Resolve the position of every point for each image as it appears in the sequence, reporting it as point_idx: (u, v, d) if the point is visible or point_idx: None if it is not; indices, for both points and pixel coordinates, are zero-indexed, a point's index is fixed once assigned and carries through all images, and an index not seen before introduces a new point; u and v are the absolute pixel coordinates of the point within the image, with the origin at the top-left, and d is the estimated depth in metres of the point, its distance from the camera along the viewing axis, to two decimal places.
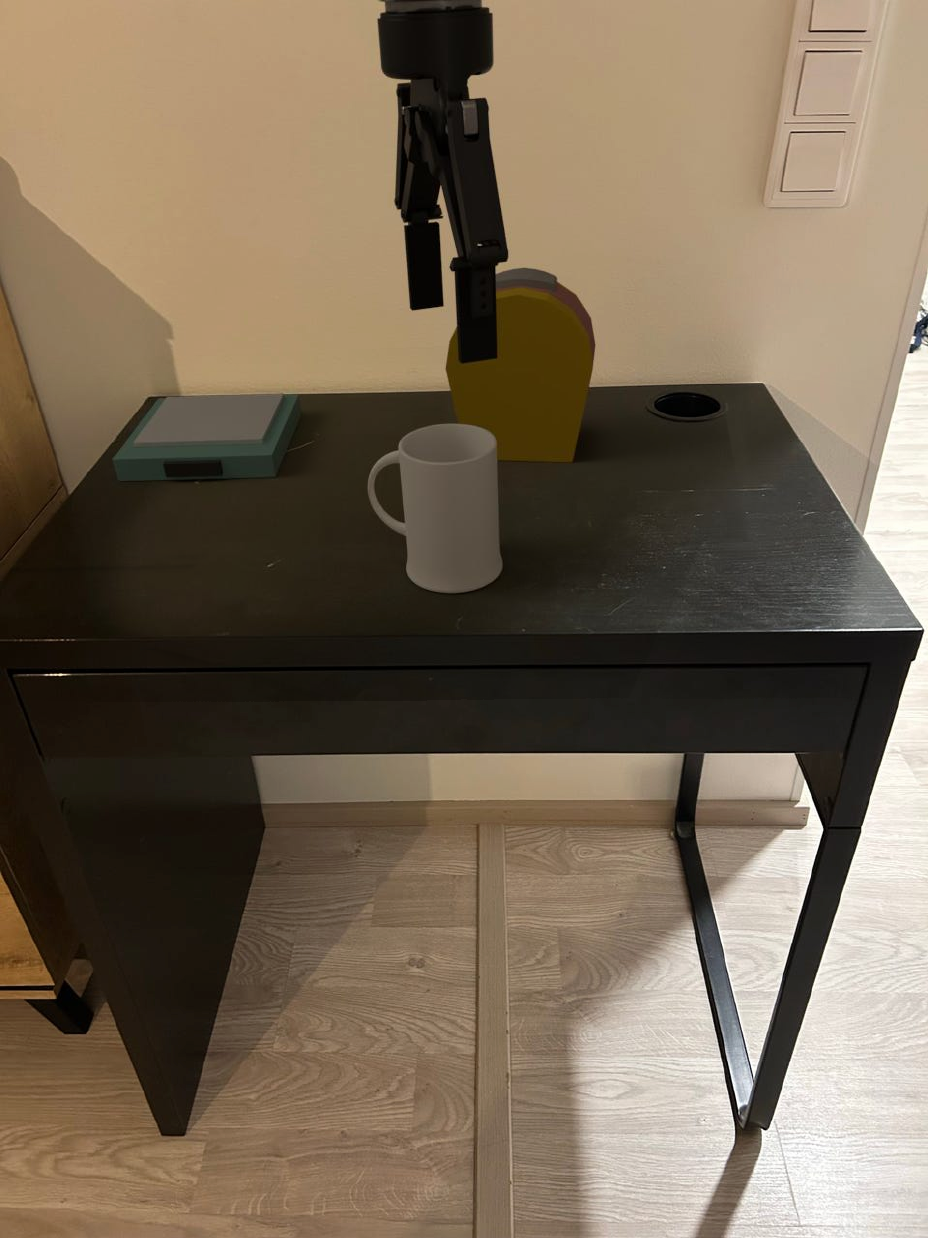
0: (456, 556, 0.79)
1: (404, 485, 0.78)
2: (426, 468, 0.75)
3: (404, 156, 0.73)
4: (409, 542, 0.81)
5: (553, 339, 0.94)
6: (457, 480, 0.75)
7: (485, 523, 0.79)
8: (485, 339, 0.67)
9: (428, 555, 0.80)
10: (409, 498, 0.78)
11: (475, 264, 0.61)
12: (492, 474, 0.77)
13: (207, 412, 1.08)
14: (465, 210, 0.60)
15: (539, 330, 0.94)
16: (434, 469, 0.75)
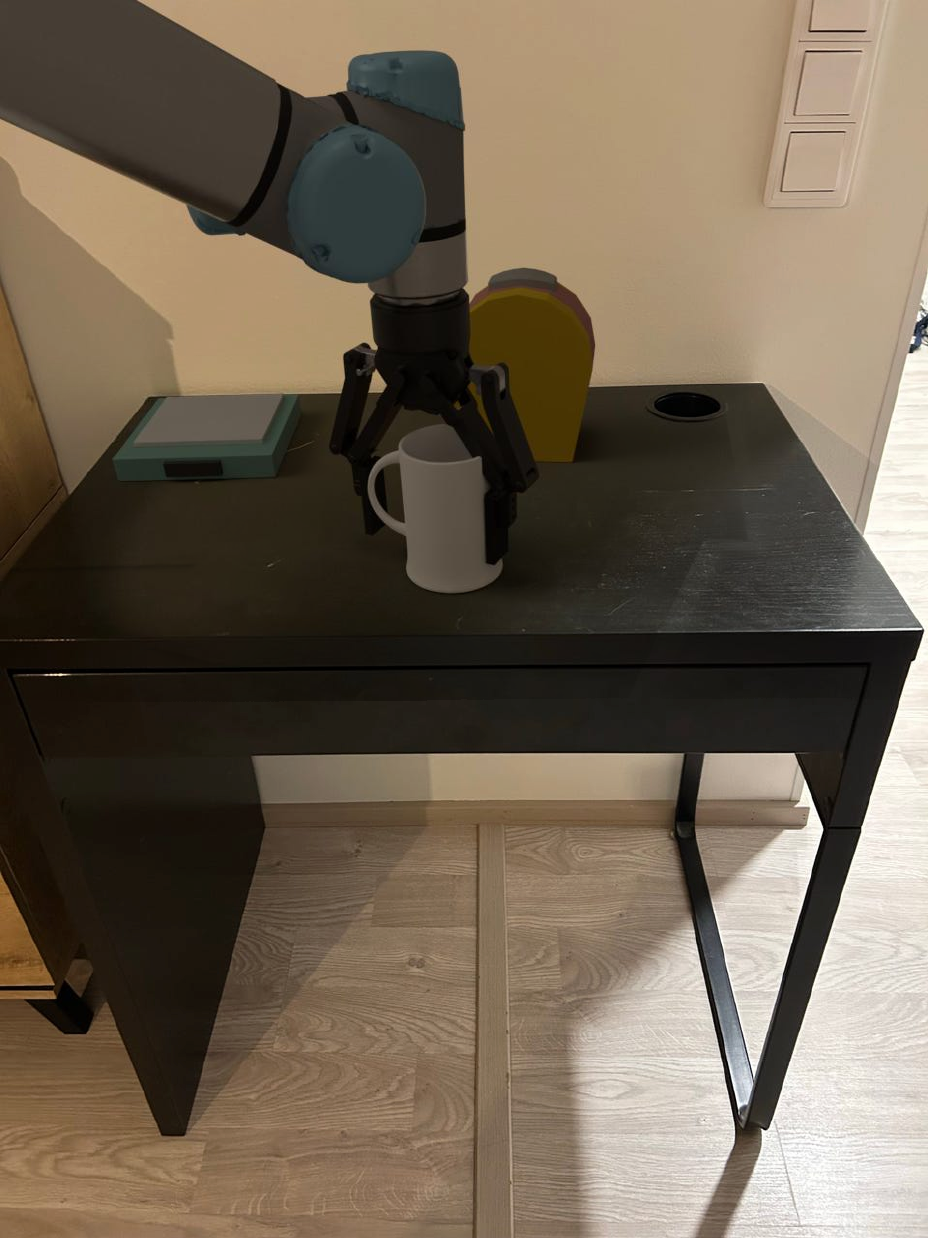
0: (456, 556, 0.79)
1: (404, 485, 0.78)
2: (426, 468, 0.75)
3: (352, 409, 0.79)
4: (409, 542, 0.81)
5: (553, 339, 0.94)
6: (457, 480, 0.75)
7: None
8: (503, 540, 0.81)
9: (428, 555, 0.80)
10: (409, 498, 0.78)
11: None
12: None
13: (207, 412, 1.08)
14: (514, 453, 0.74)
15: (539, 330, 0.94)
16: (434, 469, 0.75)
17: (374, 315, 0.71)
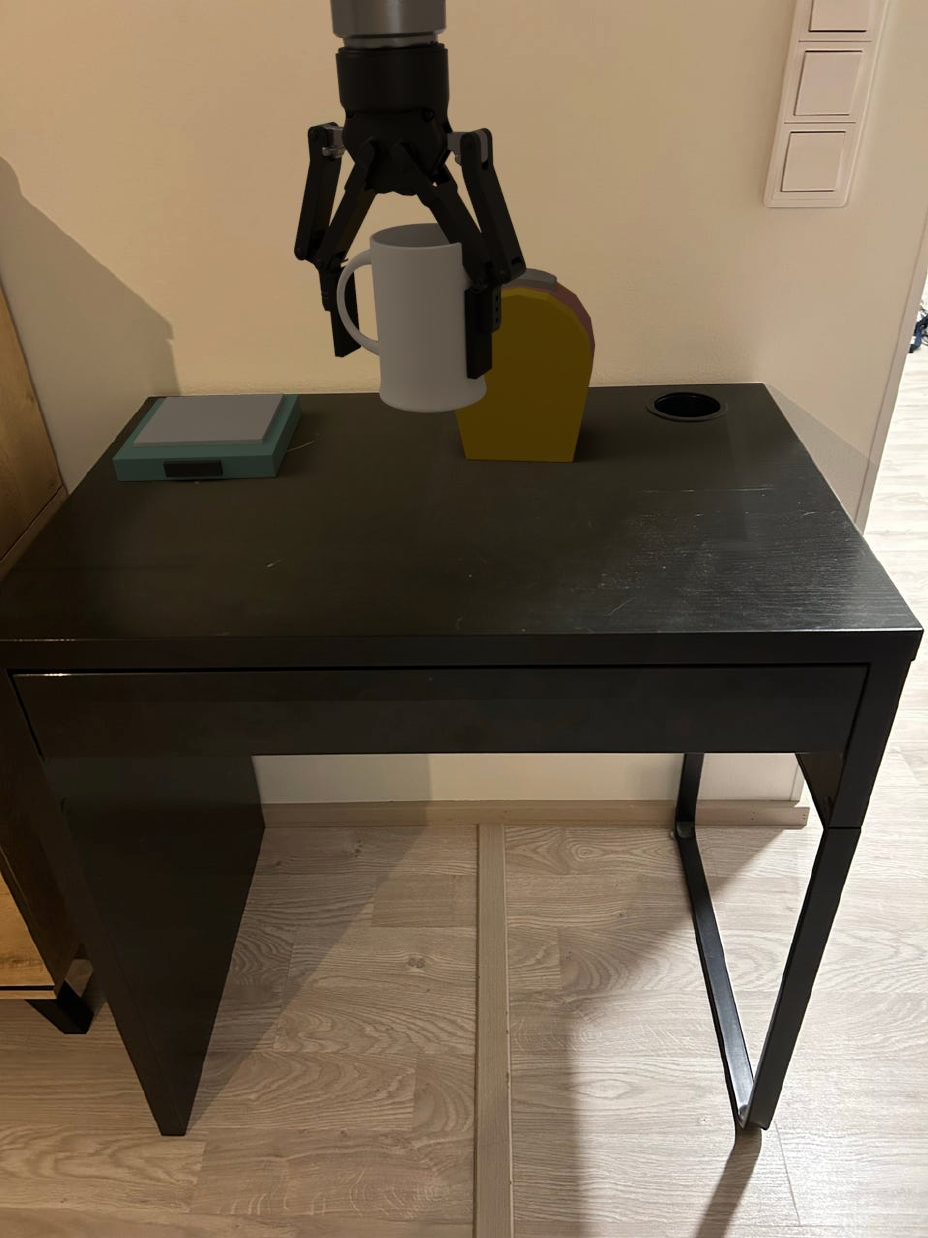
0: (433, 366, 0.71)
1: (375, 283, 0.70)
2: (399, 254, 0.67)
3: (318, 200, 0.71)
4: (382, 355, 0.73)
5: (553, 339, 0.94)
6: (434, 269, 0.67)
7: None
8: (486, 353, 0.72)
9: (402, 366, 0.71)
10: (381, 297, 0.70)
11: (510, 281, 0.67)
12: None
13: (207, 412, 1.08)
14: (498, 233, 0.65)
15: (539, 330, 0.94)
16: (408, 255, 0.66)
17: (339, 66, 0.63)
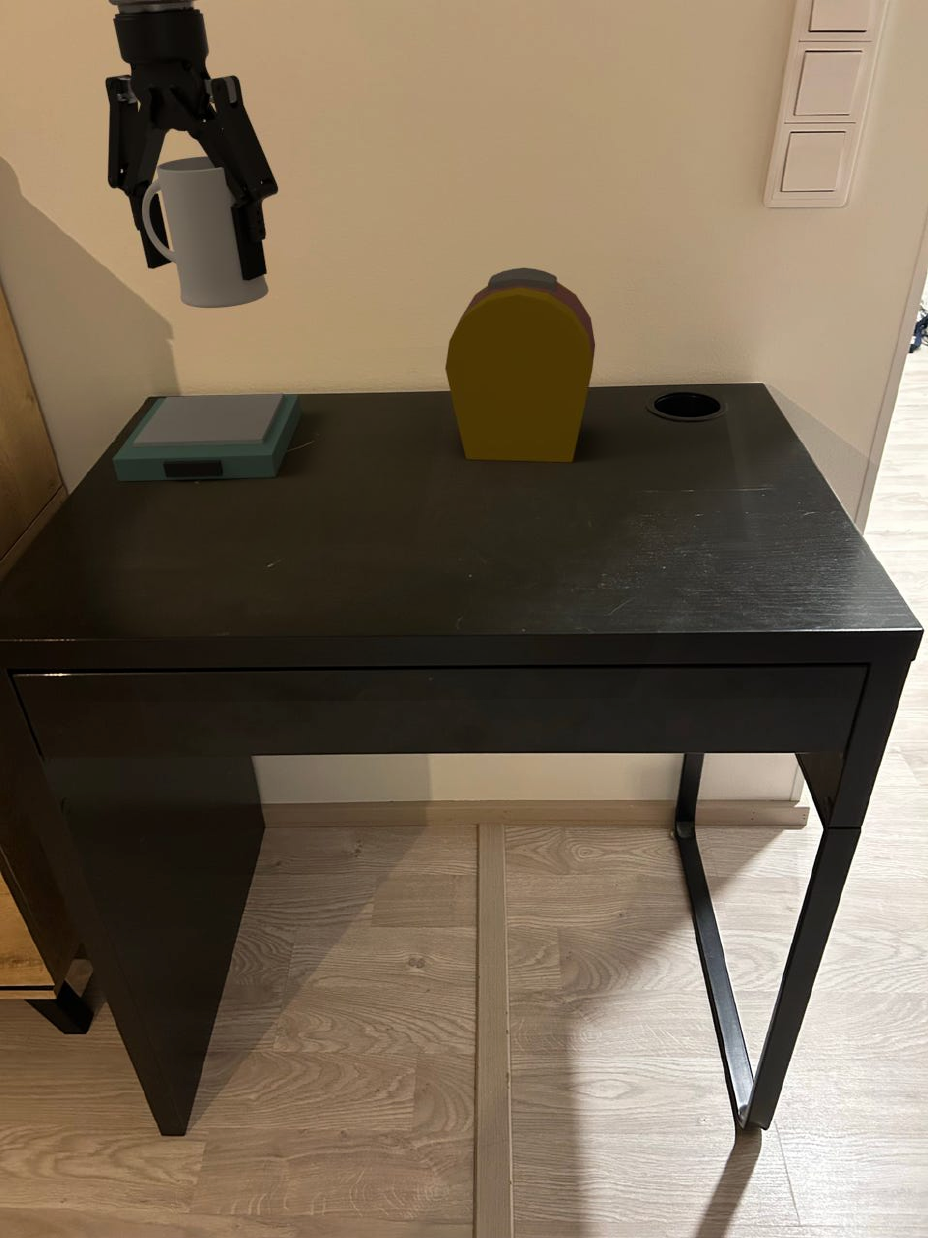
0: (213, 269, 0.89)
1: None
2: (174, 176, 0.85)
3: (121, 138, 0.89)
4: (176, 262, 0.91)
5: (553, 339, 0.94)
6: (202, 188, 0.85)
7: None
8: (259, 259, 0.91)
9: (189, 270, 0.90)
10: (168, 213, 0.88)
11: (261, 197, 0.85)
12: None
13: (207, 412, 1.08)
14: (247, 158, 0.83)
15: (539, 330, 0.94)
16: (180, 177, 0.85)
17: (115, 27, 0.81)
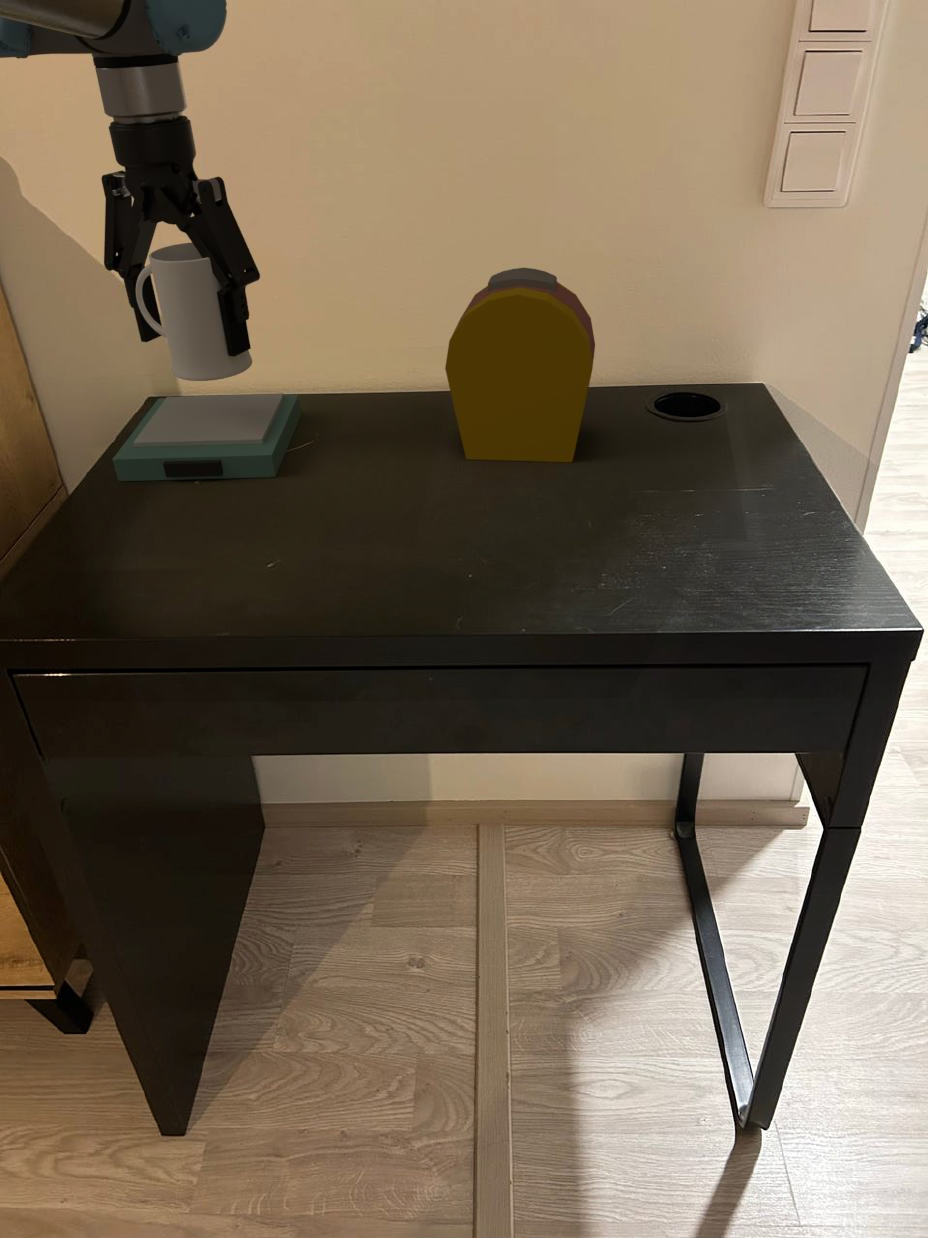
0: (200, 346, 0.97)
1: (155, 286, 0.96)
2: (165, 266, 0.93)
3: (116, 227, 0.97)
4: (167, 339, 0.99)
5: (553, 339, 0.94)
6: (191, 276, 0.93)
7: None
8: (243, 337, 0.99)
9: (179, 347, 0.98)
10: (159, 297, 0.96)
11: (245, 285, 0.93)
12: None
13: (207, 412, 1.08)
14: (231, 251, 0.92)
15: (538, 330, 0.94)
16: (171, 266, 0.93)
17: (110, 135, 0.89)
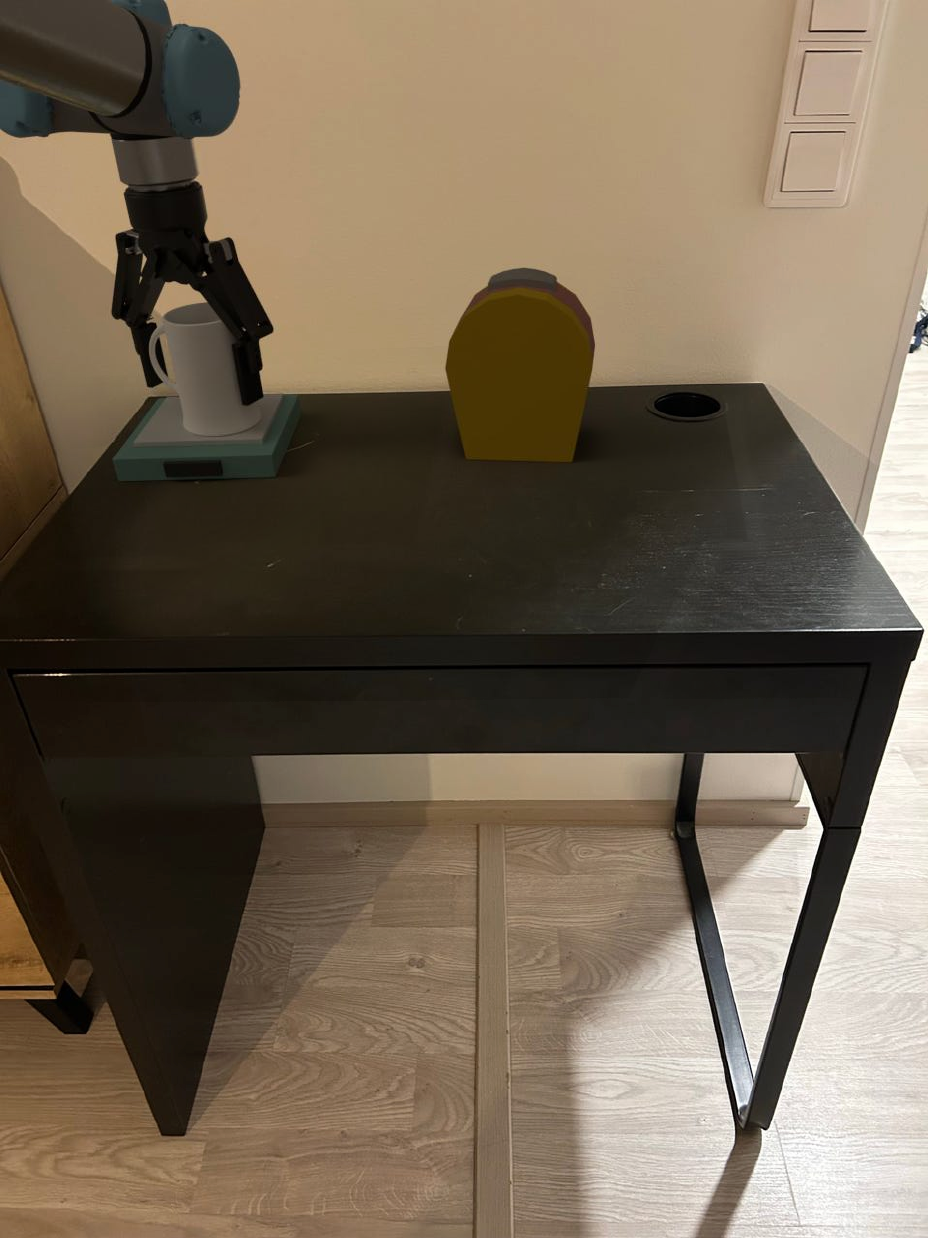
0: (212, 404, 1.01)
1: (168, 346, 1.00)
2: (178, 329, 0.97)
3: (126, 281, 1.01)
4: (179, 396, 1.03)
5: (553, 339, 0.94)
6: (203, 338, 0.97)
7: (234, 377, 1.00)
8: (256, 386, 1.01)
9: (191, 404, 1.01)
10: (172, 357, 1.00)
11: (259, 338, 0.96)
12: None
13: None
14: (244, 306, 0.94)
15: (538, 330, 0.94)
16: (184, 329, 0.96)
17: (125, 201, 0.92)
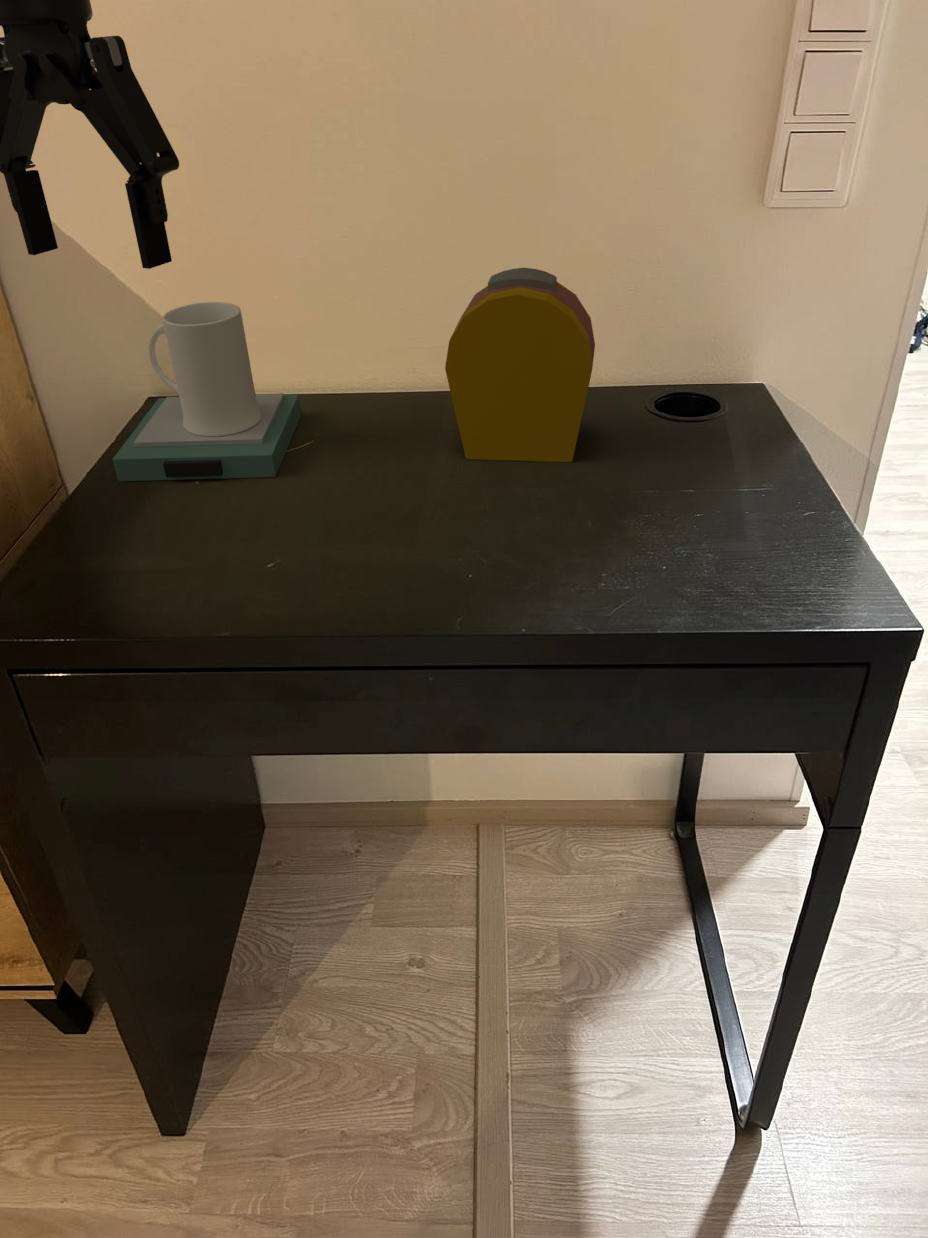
0: (212, 404, 1.01)
1: (168, 347, 1.00)
2: (178, 329, 0.97)
3: None
4: (179, 396, 1.03)
5: (553, 339, 0.94)
6: (203, 338, 0.97)
7: (234, 377, 1.00)
8: (161, 245, 0.80)
9: (191, 404, 1.01)
10: (172, 357, 1.00)
11: (159, 172, 0.74)
12: (235, 337, 0.99)
13: None
14: (138, 127, 0.73)
15: (538, 330, 0.94)
16: (183, 329, 0.96)
17: None
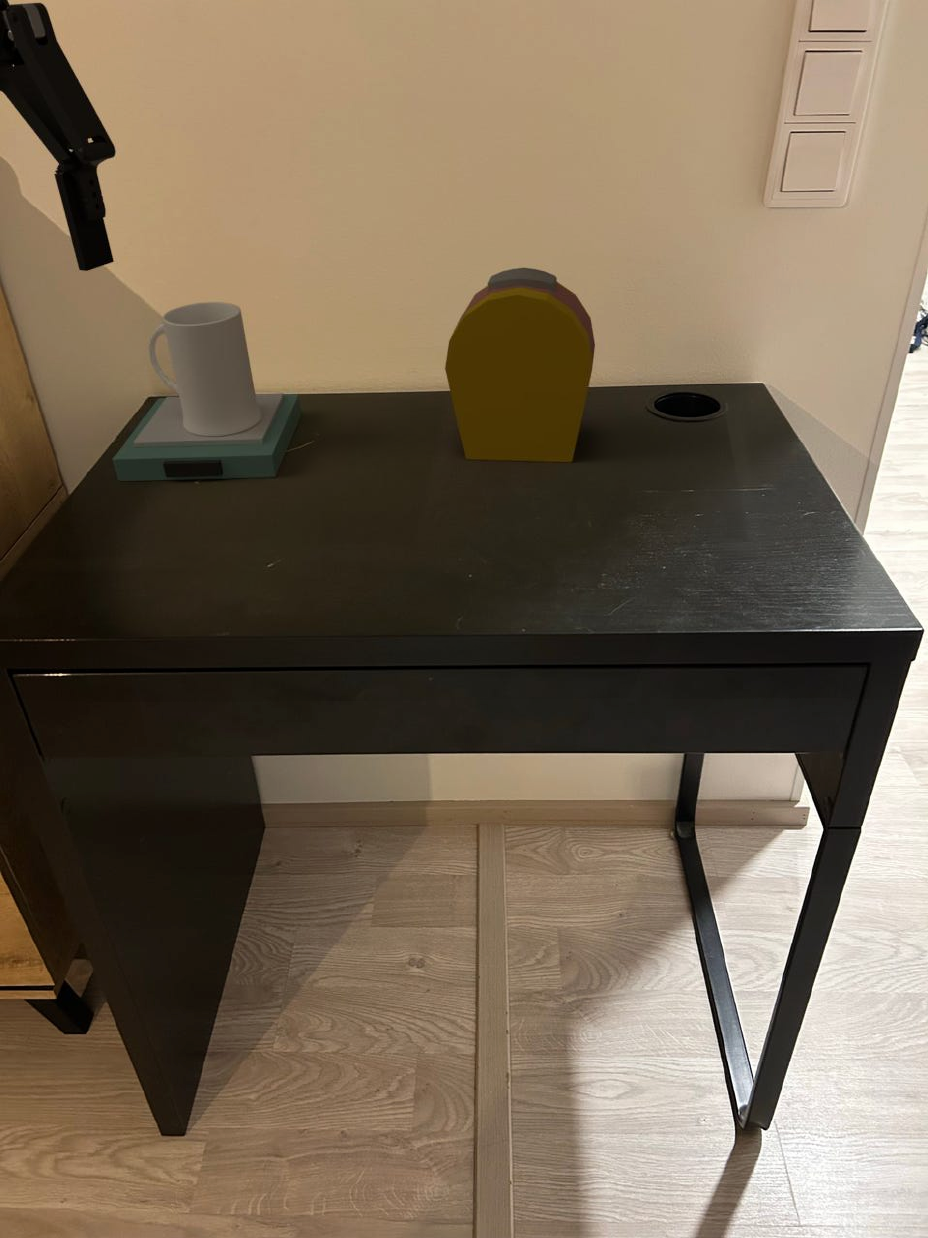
0: (212, 404, 1.01)
1: (168, 347, 1.00)
2: (178, 329, 0.97)
3: None
4: (179, 396, 1.03)
5: (553, 339, 0.94)
6: (203, 338, 0.97)
7: (234, 377, 1.00)
8: (100, 244, 0.70)
9: (191, 404, 1.01)
10: (172, 357, 1.00)
11: (91, 160, 0.65)
12: (235, 337, 0.99)
13: None
14: (65, 109, 0.63)
15: (538, 330, 0.94)
16: (183, 329, 0.96)
17: None
